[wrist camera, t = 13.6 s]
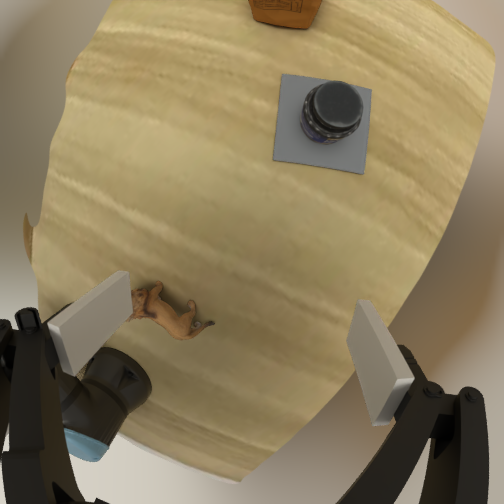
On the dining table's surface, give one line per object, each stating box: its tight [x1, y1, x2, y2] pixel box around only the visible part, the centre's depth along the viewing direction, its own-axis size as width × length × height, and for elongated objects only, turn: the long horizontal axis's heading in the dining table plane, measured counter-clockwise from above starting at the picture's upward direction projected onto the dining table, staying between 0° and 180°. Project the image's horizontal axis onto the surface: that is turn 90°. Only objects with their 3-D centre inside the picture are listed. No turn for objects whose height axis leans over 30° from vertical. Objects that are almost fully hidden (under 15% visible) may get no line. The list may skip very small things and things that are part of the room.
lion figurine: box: [126, 281, 215, 340], centre depth 39 cm, size 15×5×9 cm, turn 67°
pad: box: [273, 74, 372, 174], centre depth 32 cm, size 12×12×1 cm
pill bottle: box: [300, 81, 363, 145], centre depth 27 cm, size 6×6×11 cm
